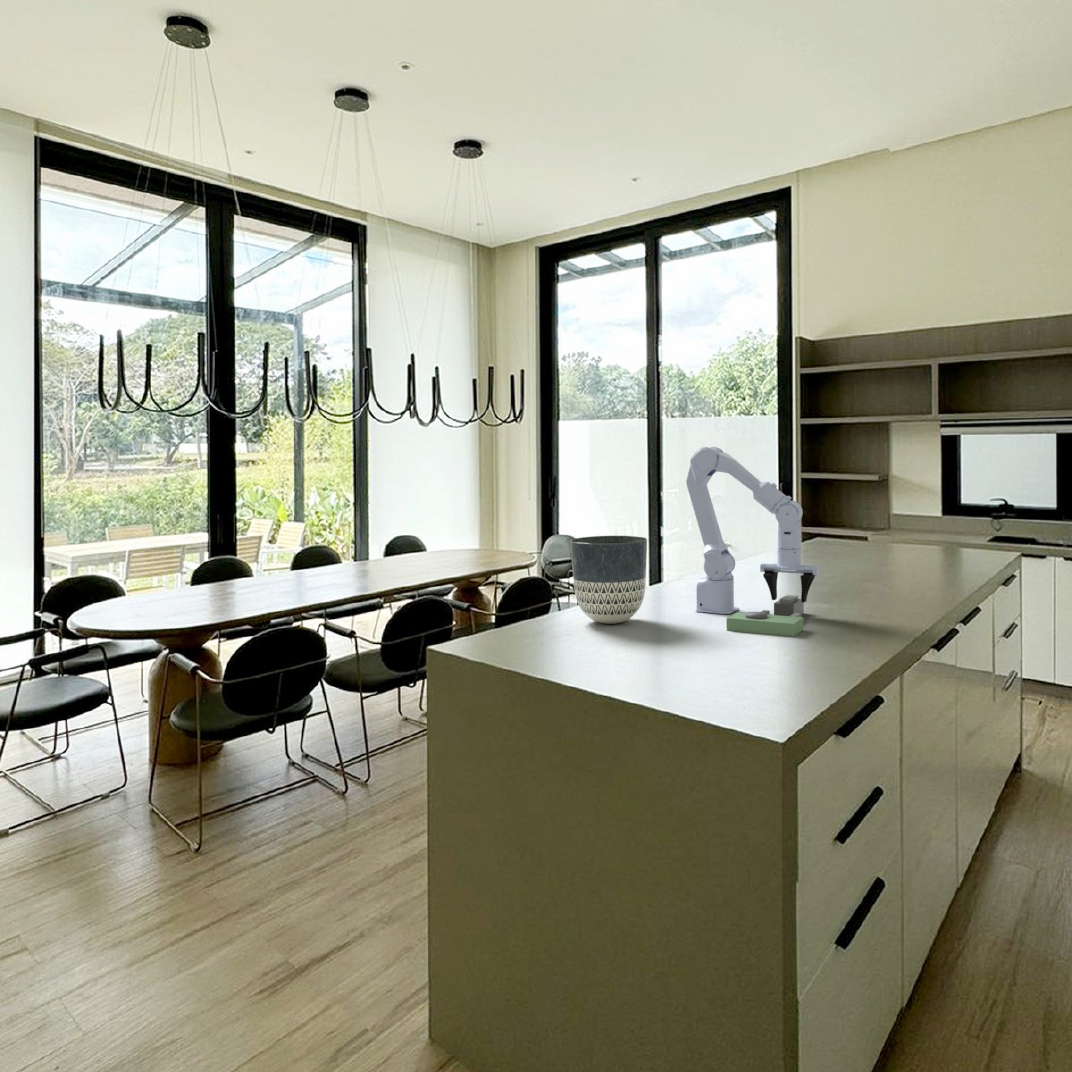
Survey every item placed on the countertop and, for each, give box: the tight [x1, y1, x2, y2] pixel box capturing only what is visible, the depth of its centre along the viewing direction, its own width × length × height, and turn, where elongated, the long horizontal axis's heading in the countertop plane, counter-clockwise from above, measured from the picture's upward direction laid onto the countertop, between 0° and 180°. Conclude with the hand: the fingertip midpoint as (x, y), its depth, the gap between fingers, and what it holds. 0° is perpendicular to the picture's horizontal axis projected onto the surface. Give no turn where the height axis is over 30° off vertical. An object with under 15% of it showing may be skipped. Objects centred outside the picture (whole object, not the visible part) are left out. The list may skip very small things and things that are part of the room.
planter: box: [569, 535, 648, 625], centre depth 212 cm, size 20×20×21 cm
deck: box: [726, 609, 804, 637], centre depth 202 cm, size 16×18×4 cm
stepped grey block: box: [773, 594, 805, 616], centre depth 214 cm, size 5×9×5 cm, turn 147°
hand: (788, 600), depth 214 cm, fingers open, 7 cm apart
